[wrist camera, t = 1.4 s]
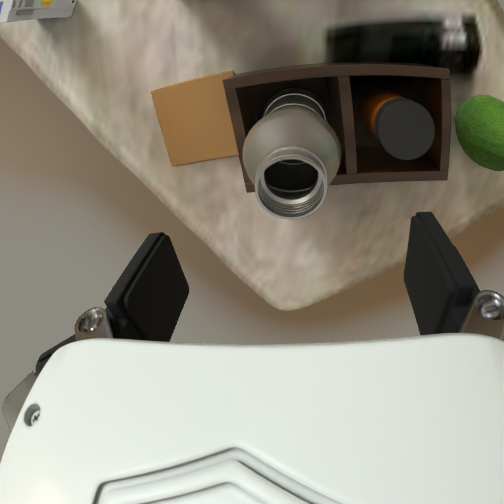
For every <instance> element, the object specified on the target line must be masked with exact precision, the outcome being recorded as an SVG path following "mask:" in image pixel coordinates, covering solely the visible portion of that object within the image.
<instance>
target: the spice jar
mask: <svg viewBox="0 0 504 504" xmlns="http://www.w3.org/2000/svg"><path fill="white" fill-rule="evenodd" d="M357 110H358V115H359V117H360V119H361V120H362V122H363V123H364V124H365V125H366V126H367V127H368V128H369V129H370V131H371V132H372V133H373V134H374V135H375V136H376V137H377V139H378V141H379V142H380V144H381V145H382V146H383V147H384V149H385V150H386V151H387V152H388V153H389V154H390V155H392V156H394V157H396V158H398V159H402V160H412V159H416V158H418V157H420V156H422V155H423V154H425V153H426V152H427V151H428V150H429V148H430V147H431V145H432V143H433V140H434V136H435V127H434V122H433V119H432V117H431V115H430V114H429V112H428V111H427V110H426V109H425V108H424V107H423V106H421V105H420V104H418V103H416V102H414V101H412V100H410V99H406V98H403V97H401V96H399V95H397V94H395V93H393V92H391V91H388V90H386V89H383V88H371V89H368V90H367V91H365V92H364V93H363V94H362V95H361V96H360V98H359V100H358V105H357Z"/></svg>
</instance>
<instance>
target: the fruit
mask: <svg viewBox="0 0 504 504" xmlns="http://www.w3.org/2000/svg"><path fill="white" fill-rule="evenodd" d="M455 123H456V133H457V137H458V140H459V143H460V145H461V146H462V148H463V150H464V151H465V153H466V154H467V155H468V156H469V157H470V158H471V159H472V160H473V161H474V162H476V163H477V164H478V165H480V166H483V167H485V168H488V169H491V170H495V171H502V170H504V102H503V101H501V100H499V99H497V98H494V97H491V96H475V97H471V98H469V99H467V100H465V101H464V102H463V103H462V104H461V106H460V107H459V109H458V111H457V114H456V119H455Z"/></svg>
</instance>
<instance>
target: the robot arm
mask: <svg viewBox="0 0 504 504" xmlns="http://www.w3.org/2000/svg"><path fill="white" fill-rule="evenodd" d="M404 282H405V285H406V288H407V291H408V295H409V297H410V301H411V304H412V307H413V311H414V314H415V317H416V321H417V324H418V328H419V331H420V336H409V337H399V338H389V339H376V340H364V341H349V342H332V343H308V344H270V345H269V344H268V345H267V344H260V345H258V344H256V345H255V344H253V345H252V344H201V343H177V342H169V341H170V339H171V336H172V334H173V331H174V329H175V326H176V324H177V321H178V319H179V316H180V314H181V311H182V309H183V306H184V304H185V301H186V299H187V297H188V294H189V286H188V283H187V281H186V278H185V276H184V273H183V271H182V268H181V266H180V263H179V261H178V258H177V255H176V253H175V250H174V248H173V245H172V242H171V240H170V238H169V236H167V235H165V234H164V233H163V232H162V233H152V234H149V235H148V237H147V238H146V239H145V241H144V242H143V244H142V245H141V247H140V248H139V249H138V251H137V252H136V254H135V255H134V257H133V258H132V260H131V261H130V263H129V264H128V266H127V267H126V268H125V270H124V272H123V273H122V275H121V276H120V278H119V279H118V281H117V282H116V284H115V285H114V287H113V288H112V290H111V292H110V293H109V295H108V296H107V298H106V299H105V301H104V302H105V304H106V306H107V307H106V309H105V310H104V309H103V308H99V307H95V308H91V309H89V310H87V311H86V312H84V313H83V314H82V315H81V316H80V317H79V318H78V319H77V321H76V324H75V334H74V335H73V336H71V337H69V338H68V339H66V340H65V341H63V342H61V343H59V344H58V345H56V346H54V347H53V348H51V349H49V350H48V351H46V352H44V353H43V354H42V355H41V356H40V357H39V360H38V361H37V364H36V373H34V372H33V371H32V372H31V373H30V374H29V375H28V376H27V377H26V378H25V379H24V380H23V381H22V382H20V383H19V384H18V385H17V386H16V387H15V388H14V390H12V391H11V392H10V393H9V394H8V395H7V397H6V398H5V399H4V402H3V405H2V411H3V414H4V417H5V419H6V422H7V425H8V427H9V429H10V432H11V435H10V438H9V440H8V443H7V446H6V449H5V452H4V454H3V457H2V460H1V463H0V504H504V297H503V296H502V295H500V294H498V293H497V292H494V291H490V290H484V291H480V290H479V288H478V286H477V284H476V282H475V280H474V279H473V277H472V275H471V273H470V271H469V270H468V268H467V266H466V264H465V262H464V261H463V259H462V257H461V255H460V254H459V252H458V250H457V249H456V247H455V246H453V245H452V243H451V241H450V240H449V238H448V237H447V235H446V233H445V232H444V230H443V229H442V227H441V225H440V224H439V222H438V221H437V219H436V218H435V216H434V215H433V213H432V212H417V213H416V215H415V216H413V217H412V218H411V225H410V234H409V242H408V250H407V257H406V264H405V270H404Z"/></svg>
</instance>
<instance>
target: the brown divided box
mask: <svg viewBox="0 0 504 504" xmlns="http://www.w3.org/2000/svg"><path fill="white" fill-rule="evenodd" d="M349 76H411V78H412V92H413V101H414V102H416V103H418V104H420V105H421V106H423V107H424V108H425V109H426V110H427V111H428V112H429V114H430V115H431V117H432V119H433V122H434V127H435V136H434V140H433V143H432V145H431V147H430V148H429V150H428V151H427V152H426V153H425V154H423V155H422V156H420V157H418V158H416V159H412V160H402V159H398V158H396V157H394V156H392V155H390V154H389V153H388V152H387V151H386V150H385V149H384V147H383V146H370V147H356V141H355V127H354V115H353V104H352V95H351V86H350V78H349ZM321 77H329V82H330V90H331V98H332V106H333V114H334V124H335V133H336V135H337V137H338V139H339V143H340V147H341V161H340V166H339V168H338V171H337V173H336V175H335V177H334V179H333V180H332V181H331V183H330V184H329V185H338V184H354V183H372V182H394V181H430V180H447V178H448V167H449V153H450V130H451V95H450V80H449V79H450V73H449V69H446V68H441V67H435V66H430V65H424V64H417V63H400V62H338V63H321V64H308V65H298V66H288V67H280V68H273V69H266V70H259V71H253V72H247V73H241V74H237V75H235V76H232V77H229V78H226V79H223V80H222V81H223V86H224V90H225V95H226V99H227V104H228V108H229V113H230V118H231V122H232V127H233V131H234V136H235V140H236V145H237V149H238V154H239V159H240V163H241V168H242V172H243V177H244V182H245V186H246V191H247V193H248V192H255V185H254V184H253V183H252V181H251V180H250V178H249V177H248V174H247V172H246V169H245V167H244V162H243V146H244V142H245V139H246V137H247V135H248V133H249V131H250V130H251V129H252V127H253V126H254V125H255V124H256V123H257V116H256V111H255V106H254V101H253V96H252V91H251V86H252V85H259V84H265V83H273V82H280V81H289V80H298V79H308V78H321Z"/></svg>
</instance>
